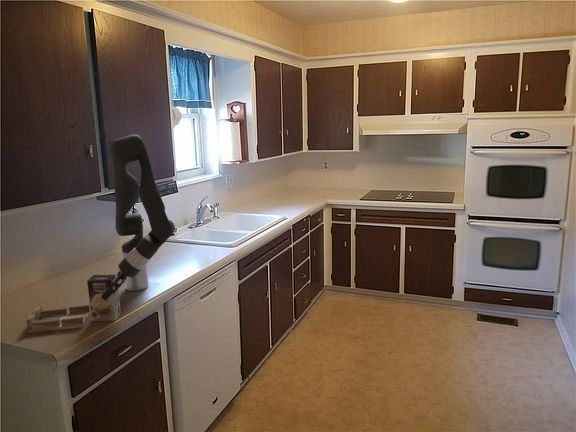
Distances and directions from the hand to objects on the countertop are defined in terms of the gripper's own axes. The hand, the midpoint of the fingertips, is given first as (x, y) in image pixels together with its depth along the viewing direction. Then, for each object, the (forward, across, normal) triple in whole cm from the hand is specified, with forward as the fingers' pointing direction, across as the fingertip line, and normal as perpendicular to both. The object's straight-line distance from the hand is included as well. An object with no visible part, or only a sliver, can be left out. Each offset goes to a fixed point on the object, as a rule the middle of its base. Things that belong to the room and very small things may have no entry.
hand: (105, 294), depth 164 cm
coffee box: (+7, 0, +6) cm, 9 cm away
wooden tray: (+18, 0, -5) cm, 19 cm away
